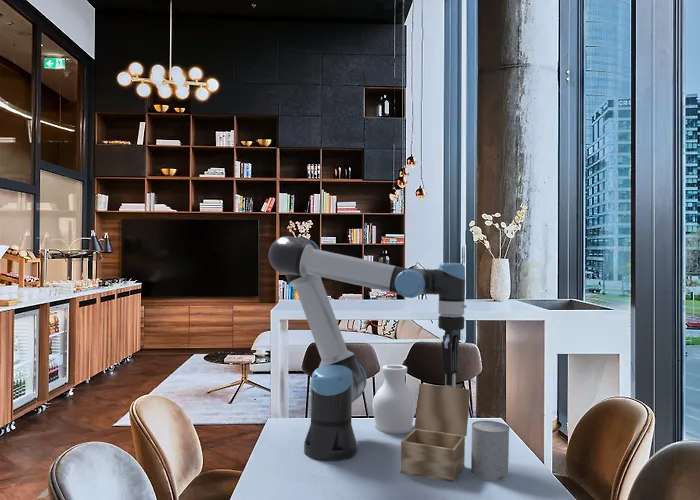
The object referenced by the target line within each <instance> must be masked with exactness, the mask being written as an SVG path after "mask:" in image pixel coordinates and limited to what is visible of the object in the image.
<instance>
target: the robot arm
mask: <svg viewBox="0 0 700 500" xmlns="http://www.w3.org/2000/svg"><path fill="white" fill-rule="evenodd" d="M268 260H269V263H270V265H271V267H272V269H274V270H275V271H276V272H278V273H280V274H283V275H285V277H286V279H287V280H286V281H287V283H288V285H289V286H291V287H293V288H295V291H296V293H297V296H298V298H299V301H300V304H301V307H302V311H303V313H304V315H305V318H306V321H307V324H308V326H309V330H310V332H311V335H312V337H313V340H314V343H315V346H316V348H317V352H318V353H319V356H320V359H321V361H320V362H319V365H318V368H316V369H315V370H314V371H313V372H312V374H311V381H310V389H311V390H310V392H311V393H310V395H311V396H310V425H309V427H308V430H307V434H306V437H305V439H304V443H303V452H304V454H305V455H306V456H307V457H308V458H309V457H310V458H312V459H315V460H321V461H340V460H345V459H350V458H352V457H354V456H355V455H356V454H357V452H358V443H357V439H356V435H355V433H354V429H353V425H352V415H353V414H352V411H353V410H352V409H353V408H352V407H353V403H354V402H355V401H356V400H357V399H358V398H360V397H361V396H362V395H363V393H364V391H365V389H366V387H367V374H366V371H365V369H364V367H363V366H362V365H360V363H358V361H357V358H356V355H355V353H354V352H352V351H350V350H348V349H347V345H346V343H345V339H344V337H343V335H342V332H341V329H340V326H339V323H338V321H337V319H336V316H335V313H334V310H333V307H332V305H331V302H330V299H329V297H328V294H327V291H326V288H325V286H324V284H323V281H322V278H323V279H324V278H325V279H329V280H334V281H339V282H343V283H347V284H352V285H356V286H361V287H365V288H371V289H375V290H379V291H383V292H388V293H391V294H397V295H399V296H402V297H404V298H408V299H413V298H416V297H419V296H420V295H433V296H434V295H438V308H437V309H438V310H437V311H438V314H439V316H438V321H437V323H438V324H437V325H438V326H437V327H438V329H440V330H444V334H443V336H442V341H441V350H442V368H443V369H442V372H441V373H442V374H444V376H445V378H444V386H445V387H454V388H456V374H459V370H458V362H459V361H458V360H459V347H460V340H461V338H460V335H459V334H458V331H462V330H464V329H465V317H464V315H465V309H466V308H467V305H466V304H465V301H466V300H465V299H466V297H465V296H466V295H465V294H466V268H465V267H466V266H465V265H464V264H463V263H460V262H459V263H458V262H457V263H456V262H440V263H439V267H438V268H436V269H435V268H434V269H431V268H409V267H408V268H407V267H401V266H398V265H397V266H396V265H393V264H388V263H382V262H379V261H373V260H370V259H369V260H368V259H364V258H359V257H355V256H350V255H345V254H340V253H335V252H330V251H327V250H321V249H320V247H319V246H318V245H317V244H316V243H315V241H313V240H311V239H309V238H307V237H304V236H291V235H290V236H289V235H288V236H287V235H286V236H281V237H279V238H277V239H276V240H274V242H272V244H271V245H270V248H269V249H268Z"/></svg>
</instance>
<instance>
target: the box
mask: <svg viewBox="0 0 700 500" xmlns="http://www.w3.org/2000/svg"><path fill="white" fill-rule="evenodd" d="M465 440H466V436H461V435H454V434H448V433H441V432H434V431H427V430H421V429H415V428H414V429H412V430H411V431H410V432H409V434H407V436H406V437H405V438H403V439H402V440H401V441H400V473H401V474H406V475H411V476H417V477H423V478H428V479H434V480H439V481H445V482H449V481H450V482H449V483H455V482H456V480H457V479H458V478H459V475H460V474H461V473H462V471H463V469H464V467H465V460H466V459H465V455H466V454H465V453H466V451H465V449H466V448H465V445H466V442H465Z"/></svg>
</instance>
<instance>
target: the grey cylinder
mask: <svg viewBox="0 0 700 500" xmlns="http://www.w3.org/2000/svg"><path fill="white" fill-rule="evenodd" d="M509 441H510V426H508V424H505V423H503V422H498V421H494V420H477V421H474V422H472V423H471V454H470V455H471V463H470V464H471V465H470V466H471V469H470V473H471V475H472V476H474V477H476V478H477V479H480V480H485V481H490V482H492V481H493V482H500V481H504V480H506V479H508V478H509V456H510V455H509V454H510V451H509V449H510V448H509V447H510V446H509V445H510V442H509Z"/></svg>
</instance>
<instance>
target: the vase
mask: <svg viewBox="0 0 700 500" xmlns="http://www.w3.org/2000/svg"><path fill="white" fill-rule="evenodd" d="M381 370H382V373H383V377H384V378H383V379H384V381H383V384H382V385H381V386H380V388H378V390H377V391H376V392H375V395H374V396H373V398H372V404H371V405H372V413H373V418H374V423H375V425H374V427H375V429H376V430H377V431H379V432H381V433H384V434H385V433H386V434H390V435H391V434H392V435H393V434H394V435H395V434H396V435H397V434H398V433H399V435H401V434H400V433H402V434H407V433H411V432H412V431H413V423H414V418H415V416H416V410H417V401H416V397H415V395H414V393H412V391H411V390H410V388H409V387H408V386H407V384H406V381H405V380H406V379H405V378H406V375H407V372H408V366H406V365H402V364H385V365H383V366H382V369H381ZM406 432H407V433H406Z"/></svg>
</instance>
